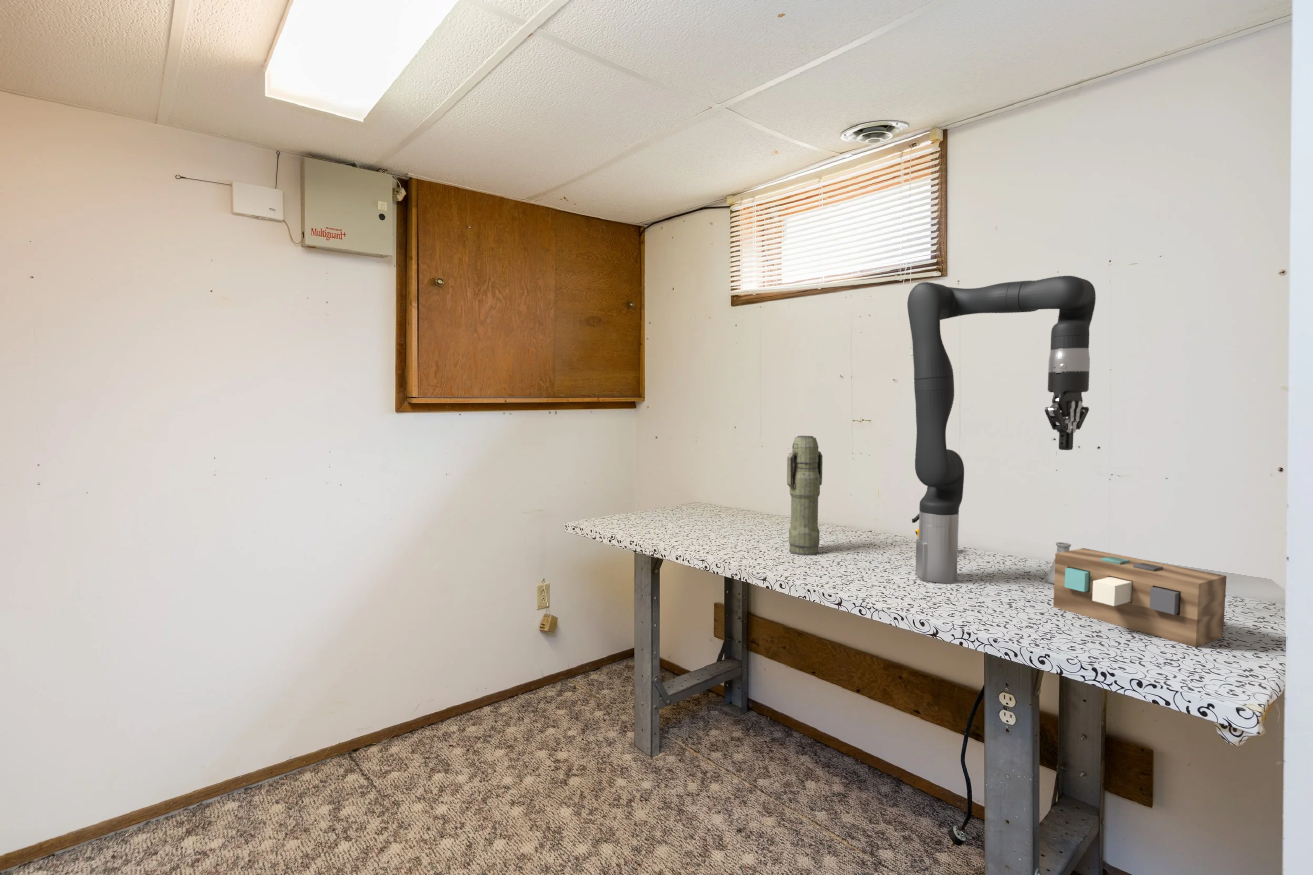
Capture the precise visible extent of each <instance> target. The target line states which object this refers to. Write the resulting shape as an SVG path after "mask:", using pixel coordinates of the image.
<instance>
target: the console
mask: <svg viewBox="0 0 1313 875" xmlns="http://www.w3.org/2000/svg"><path fill="white" fill-rule="evenodd" d="M1054 559H1055V576H1054V585H1053V606H1052V607H1053V608H1056V609H1060V610H1063V611H1066V612H1070V613H1073V614H1077V615H1081V616H1085V617H1088V618H1092V619H1095V620H1098V621H1101V622H1104V623H1110V624H1113V625H1116V626H1119V627H1123V628H1127V629H1130V630H1133V631H1137V632H1140V633H1144V634H1148V635H1152V636H1155V637H1159V638H1161V639H1165V640H1168V641H1173V642H1176V643H1180V644H1184V645H1186V646H1190V647H1193V648H1196V647H1200V646H1202V645H1205V644H1207V643H1208V644H1209V643H1210V642H1213V641H1215V640H1218V639H1222V638H1223V637H1224V632H1225V631H1224V625H1225V613H1226V612H1225V609H1226V591H1227V590H1226V589H1227V575H1224V574H1220V573H1219V574H1218V573H1214V572H1209V571H1203V570H1198V569H1192V568H1188V567H1183V566H1182V567H1181V566H1177V565H1172V564H1168V563H1167V564H1166V563H1163V562H1156V561H1152V560H1147V559H1141V558H1138V557H1137V558H1136V557H1131V556H1127V555H1121V554H1117V553H1111V552H1105V551H1100V550H1095V549H1090V548H1085V547H1081V548H1078V549H1072V550H1071V549H1070V550H1069V551H1066V552H1061V553H1057V552H1056V553H1055V556H1054ZM1071 567H1073V568H1078V569H1082V570H1087V571H1090V591H1086V592H1082V591H1078V590H1074V589H1070V588H1066V587H1065V569H1067V568H1071ZM1112 576H1113V577H1118V578H1122V579H1127V580H1131V581H1133V594H1132V601H1131V602H1127V603H1124V604H1120V605H1117V606H1111V605H1108V604H1104V603H1100V602H1096V601H1092V595H1093V581H1095V580H1099V579H1103V578H1108V577H1112ZM1157 586H1158V587H1163V588H1167V589H1172V590H1176V591H1181V599H1180V613H1178V614H1170V613H1166V612H1162V611H1158V610H1154V609H1150V590H1151V588H1153V587H1157Z"/></svg>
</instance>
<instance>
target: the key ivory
mask: <svg viewBox="0 0 1313 875" xmlns="http://www.w3.org/2000/svg"><path fill="white" fill-rule="evenodd" d="M1132 594H1133V581H1131V580H1127V579H1122V578H1118V577H1113V576H1112V577H1108V578H1103V579H1099V580H1095V581H1093V595H1092V601H1096V602H1100V603H1104V604H1108V605H1111V606H1117V605H1120V604H1124V603H1127V602H1131V601H1132Z"/></svg>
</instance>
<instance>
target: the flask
mask: <svg viewBox="0 0 1313 875" xmlns="http://www.w3.org/2000/svg"><path fill="white" fill-rule="evenodd" d="M1055 545H1056V553H1061V552H1066V551H1070V548H1071V547H1072V544H1071V543H1069V542H1063V541H1062V542H1061V541H1060V542H1059V541H1057V542H1056V543H1055ZM1054 576H1055V558H1054V560H1053V562H1052V564H1051V566H1050V569H1049V571H1048V573H1047V575H1046V576H1045V578H1044V580H1045V582H1047V583H1049V584H1054Z"/></svg>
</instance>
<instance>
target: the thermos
mask: <svg viewBox="0 0 1313 875" xmlns="http://www.w3.org/2000/svg"><path fill="white" fill-rule="evenodd" d="M791 447H792V448H791V449H792V450H791V452H790V453H789V454H788V456H787V460H786V462H787V463H786V470H787V471H786V475H787V476H786V484H787V486H788V488H789V495H790V503H791V504H790V527H789V528H788V529H789V530H788V543H789V548H788V550H789V551H788V552H789V553H791V554H793V555H797V556H816V555H818V554H819V552H820V550H819V546H820V531H821V530H820V529H819V496H820V495H821V486H822V484H823V454H822V452H821V451H820V450H819V444H818V441H817V438H816V437H814V436H813V435H797V436H796V437H794V440H793V443H792V446H791Z"/></svg>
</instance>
